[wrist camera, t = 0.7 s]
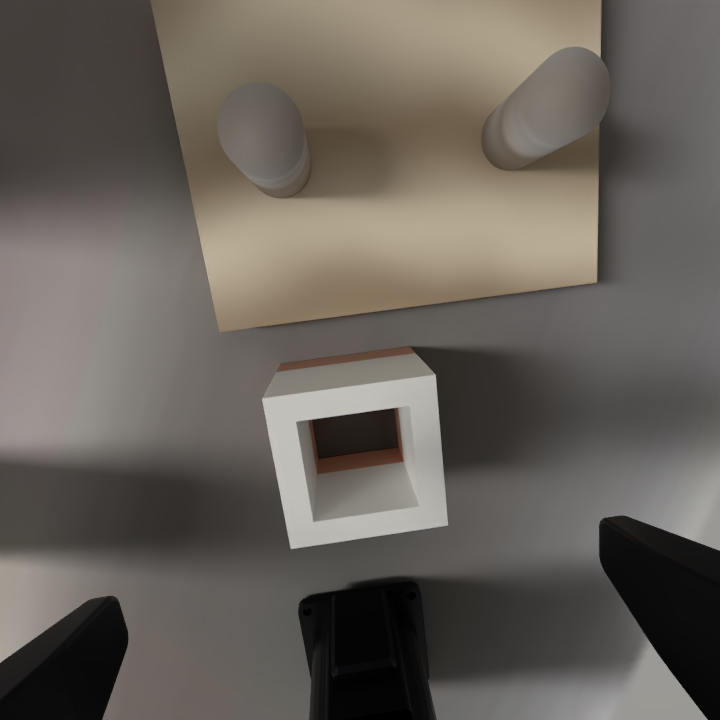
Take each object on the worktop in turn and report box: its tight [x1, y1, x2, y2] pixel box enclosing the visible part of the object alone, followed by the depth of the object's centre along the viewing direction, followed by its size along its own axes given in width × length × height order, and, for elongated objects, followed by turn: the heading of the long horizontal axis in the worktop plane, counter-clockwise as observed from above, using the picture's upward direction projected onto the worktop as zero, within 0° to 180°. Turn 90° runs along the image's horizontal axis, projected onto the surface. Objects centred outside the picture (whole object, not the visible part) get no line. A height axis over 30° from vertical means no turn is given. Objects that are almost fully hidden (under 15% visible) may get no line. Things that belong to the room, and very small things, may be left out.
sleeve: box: [262, 346, 448, 549], centre depth 17 cm, size 6×6×5 cm
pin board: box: [150, 0, 611, 332], centre depth 14 cm, size 12×16×6 cm
